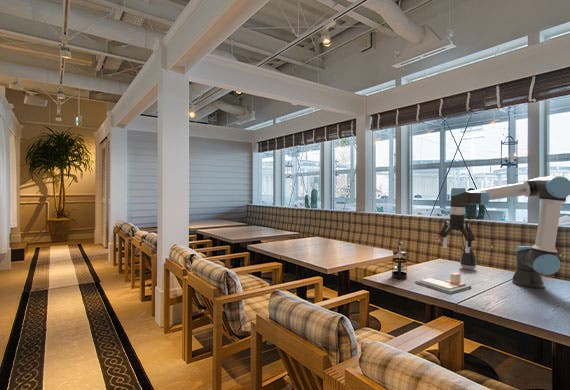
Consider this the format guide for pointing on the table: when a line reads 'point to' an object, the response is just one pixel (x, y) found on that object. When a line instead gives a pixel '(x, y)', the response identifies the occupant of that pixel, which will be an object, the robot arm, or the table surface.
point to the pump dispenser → (468, 260)
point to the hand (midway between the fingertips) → (455, 250)
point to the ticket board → (442, 285)
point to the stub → (455, 279)
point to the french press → (399, 265)
